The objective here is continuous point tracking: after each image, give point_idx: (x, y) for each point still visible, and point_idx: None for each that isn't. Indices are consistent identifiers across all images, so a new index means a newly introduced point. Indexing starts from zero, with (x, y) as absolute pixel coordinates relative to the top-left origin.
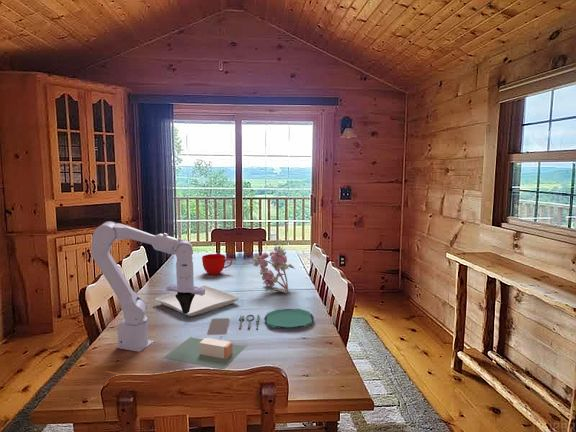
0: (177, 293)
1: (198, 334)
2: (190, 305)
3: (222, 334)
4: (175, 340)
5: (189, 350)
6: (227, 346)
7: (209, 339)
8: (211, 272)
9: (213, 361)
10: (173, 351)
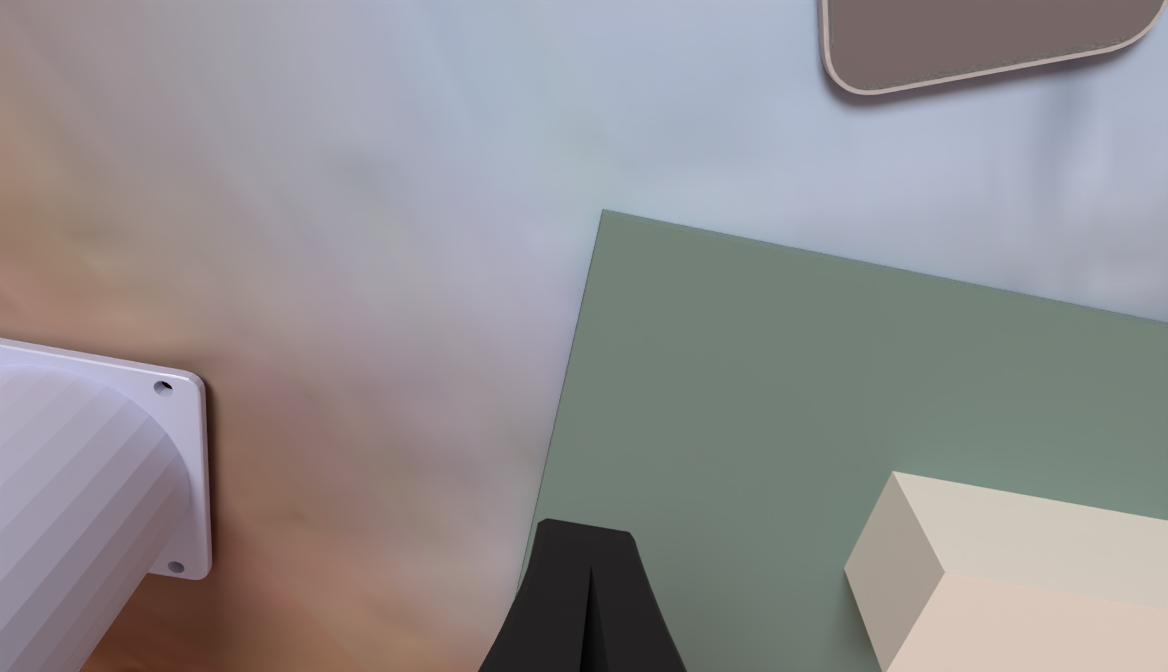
0: None
1: (682, 60)
2: (677, 660)
3: (1094, 54)
4: (431, 289)
5: (714, 517)
6: None
7: (1001, 606)
8: None
9: None
10: None
